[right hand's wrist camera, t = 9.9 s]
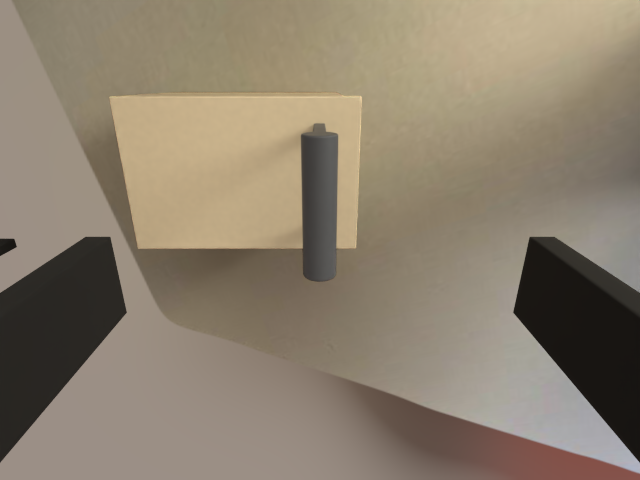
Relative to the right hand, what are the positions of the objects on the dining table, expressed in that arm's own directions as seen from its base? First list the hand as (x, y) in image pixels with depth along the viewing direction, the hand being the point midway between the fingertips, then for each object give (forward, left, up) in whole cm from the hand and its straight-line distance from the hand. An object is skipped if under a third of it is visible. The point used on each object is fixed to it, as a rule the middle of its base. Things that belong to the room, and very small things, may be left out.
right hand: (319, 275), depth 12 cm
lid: (+1, -5, -15) cm, 15 cm away
